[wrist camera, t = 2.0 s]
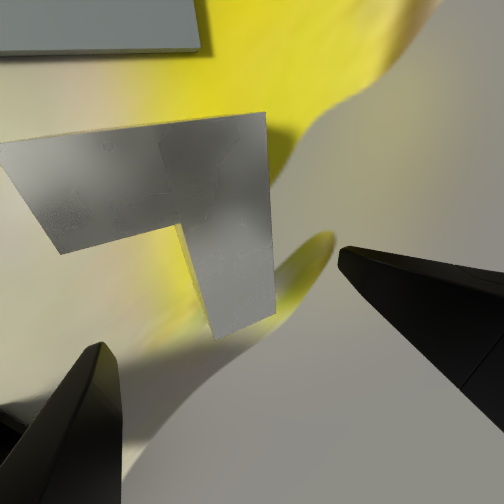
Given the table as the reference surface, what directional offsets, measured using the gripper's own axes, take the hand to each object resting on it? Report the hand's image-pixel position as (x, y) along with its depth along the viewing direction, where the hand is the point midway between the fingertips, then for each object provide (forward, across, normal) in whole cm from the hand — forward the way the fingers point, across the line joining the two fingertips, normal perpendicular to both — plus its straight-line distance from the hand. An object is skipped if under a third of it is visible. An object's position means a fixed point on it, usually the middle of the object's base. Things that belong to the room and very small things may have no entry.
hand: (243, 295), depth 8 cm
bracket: (+5, +1, -2) cm, 5 cm away
